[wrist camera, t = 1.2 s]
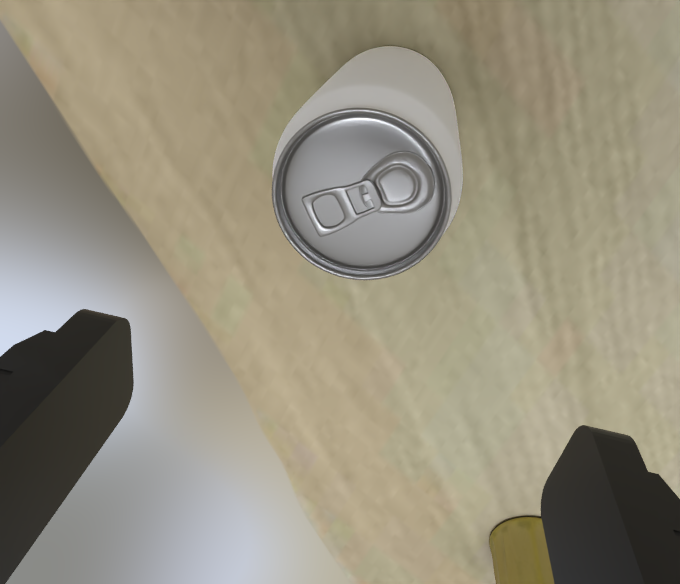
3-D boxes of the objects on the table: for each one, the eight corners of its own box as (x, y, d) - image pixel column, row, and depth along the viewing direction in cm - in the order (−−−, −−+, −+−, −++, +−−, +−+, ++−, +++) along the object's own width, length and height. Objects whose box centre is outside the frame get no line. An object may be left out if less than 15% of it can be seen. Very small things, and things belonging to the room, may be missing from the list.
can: (471, 150, 27) (493, 258, 17) (355, 194, 29) (311, 313, 19) (428, 19, 24) (423, 52, 14) (303, 78, 26) (220, 143, 16)
